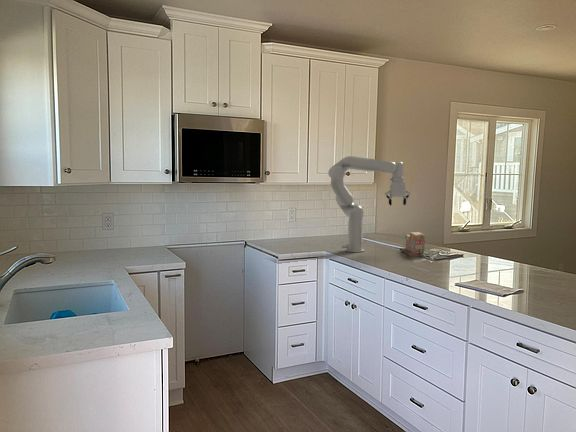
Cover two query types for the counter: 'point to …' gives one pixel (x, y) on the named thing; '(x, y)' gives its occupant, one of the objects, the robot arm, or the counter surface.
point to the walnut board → (411, 253)
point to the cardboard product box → (415, 242)
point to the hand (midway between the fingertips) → (397, 205)
